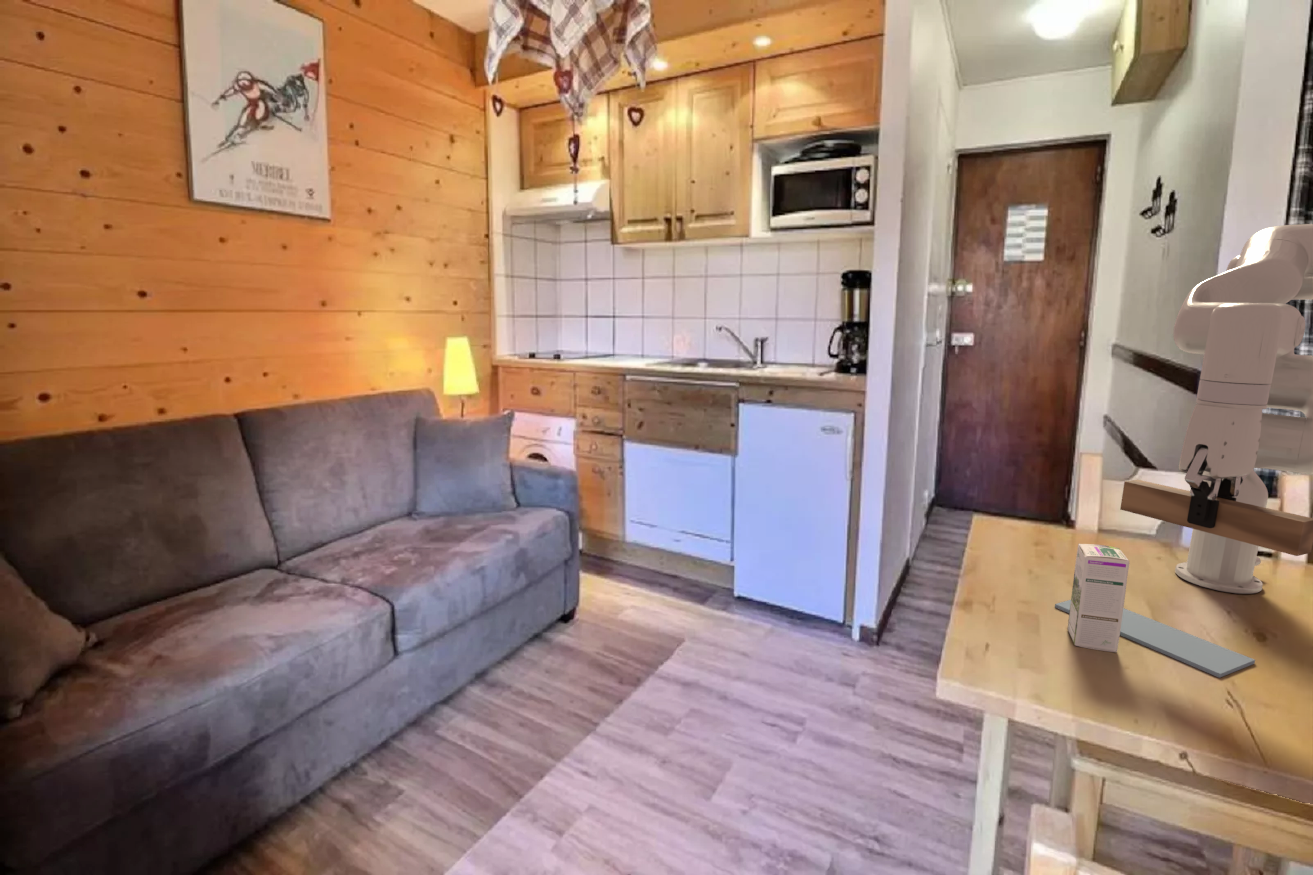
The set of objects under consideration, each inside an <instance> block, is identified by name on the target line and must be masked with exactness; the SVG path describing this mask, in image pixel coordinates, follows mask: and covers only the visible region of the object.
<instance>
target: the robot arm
mask: <svg viewBox="0 0 1313 875" xmlns="http://www.w3.org/2000/svg"><path fill="white" fill-rule="evenodd" d="M1241 249H1242V250H1241V252H1240V254H1239V255H1237V256H1235V257H1233V258H1232V259H1231V260H1230V261H1229V263H1228V265H1227V267H1226V271H1224V272H1222V273H1220V274H1217V275H1214V276H1212V277H1210V278H1207V279H1205V280H1204V281H1201V282H1200V283H1198V284H1196V285H1195V286H1194V287H1193V288H1192V289H1191V290H1190V291H1189V292H1188V293H1187V295H1186V297H1185V298H1184V301H1183V303H1182V305H1181V306H1180V309H1179V311H1178V314H1177V315H1176V318H1175V322H1174V327H1173V334H1172V335H1173V341H1174V343H1175V345H1176V347H1177V348H1178V349H1179V350H1181V351H1182V352H1184V353H1189V354H1194V355H1195V354H1197V355H1198V354H1199V355H1203V359H1202V364H1201V370H1200V376H1199V382H1198V389H1197V395H1196V399H1195V405H1194V408H1193V410H1192V413H1191V416H1190V419H1189V421H1188V425H1187V428H1186V431H1185V436H1184V441H1183V444H1182V449H1181V452H1180V457H1179V463H1178V464H1179V465H1178V469H1179V470H1180V472H1181V473H1183V474H1185V476H1184V481H1185V482H1186V483H1187V484H1188V485H1189V487H1190V490H1189V491H1190V495H1191V501H1190V506H1189V512H1188V518H1187V521H1188V523H1191V524H1195V525H1199V526H1202V527H1206V528H1214V527H1215V522H1216V517H1217V511H1218V506H1219V501H1218V500H1216V498H1217V497H1218V498H1223V499H1227V500H1233V501H1237V502H1242V503H1246V504H1251V505H1255V506H1260V507H1264V508H1267V505H1268V498H1269V492H1268V488H1267V487H1266V484H1265V483H1264V482H1263V480H1262V479H1261V477H1259V475H1258V474H1257V473H1256V471H1255V470H1254V469H1262V470H1263V469H1266V470H1273V471H1274V470H1275V471H1282V472H1288V473H1297V474H1305V475H1306V474H1307V475H1313V355H1310V354H1309V355H1308V354H1307V355H1306V354H1295V348H1297V347H1298V346H1299V345H1300V344H1301V343H1302V341H1303V338H1304V336H1305V331H1306V330H1305V329H1306V320H1305V317H1304V316H1303V315H1302V314H1301V312H1300V310H1299V309H1298V308H1296V307H1295V306H1293V305H1291V304H1288V302H1290V301H1292V300H1293V301H1295V300H1298V301H1299V300H1302V301H1303V300H1304V301H1305V300H1311V301H1312V300H1313V223H1304V224H1303V223H1302V224H1284V225H1275V226H1270V227H1266V228H1263V229H1261V230H1258V232H1256V233H1254V234H1252V235H1251V236H1250V237H1249V238H1248V239H1247V241H1246V242H1245V243H1244V245H1243V247H1242V248H1241ZM1268 408H1269V409H1277V410H1278V409H1279V410H1280V409H1281V410H1289V411H1290V410H1291V411H1299V412H1301V413H1302V414H1304V416H1305V417H1304V416H1294V415H1293V416H1292V415H1285V414H1283V415H1282V414H1275V413H1268V412H1267V413H1265V412H1264V413H1263V410H1267V409H1268ZM1258 551H1259V546H1256V545H1253V544H1249V543H1245V542H1241V541H1238V540H1234V539H1230V538H1226V537H1222V536H1219V535H1215V534H1211V533H1207V532H1203V531H1200V530H1196V529H1192V532H1191V536H1190V542H1189V549H1188V554H1187V560H1186V561H1184V562H1180V563H1177V564H1176V565H1175V570H1174V572H1175V574H1176V575H1177V576H1178V577H1180V578H1181V579H1183V580H1184V581H1186V582H1189V583H1190V584H1194V585H1196V586H1200V587H1203V588H1206V589H1210V590H1213V591H1219V592H1224V593H1230V594H1231V593H1232V594H1241V595H1242V594H1245V595H1249V594H1257V593H1259V592H1261V591H1262V590H1263V587H1264V586H1263V585H1264V584H1263V582H1262V581H1261V580H1260V578H1258V577H1256V576H1254V572H1255V567H1257V566H1259V565H1260V564H1261V561H1262V560H1261V559H1260V557H1259V556H1257V555H1258Z"/></svg>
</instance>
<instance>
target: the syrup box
mask: <svg viewBox="0 0 1313 875" xmlns="http://www.w3.org/2000/svg"><path fill="white" fill-rule="evenodd" d="M1075 557H1076V558H1075V563H1074V564H1075V565H1074V571H1073V572H1074V574H1073V581H1072V589H1071V597H1070V600H1071V604H1070V612H1069V613H1068V620H1067V622H1068V623H1067V632H1068V634H1069V636H1070V638H1071V640H1072V643H1073V646H1076V647H1080V648H1083V649H1091V650H1095V651H1096V650H1097V651H1102V652H1103V651H1104V652H1111V653H1118V649H1119V642H1120V636H1121V635H1120V630H1121V622H1122V615H1123V608H1125V607H1124V606H1125V600H1126V599H1125V598H1126V592H1127V591H1126V590H1127V583H1128V576H1129V568H1130V560H1129V559H1128V558H1127V556H1126V555H1125V554H1124V553H1123V551H1122V550H1121V548H1120V547H1115V546H1110V545H1104V544H1103V545H1102V544H1093V543H1091V544H1090V543H1078V544H1077V550H1076V556H1075Z"/></svg>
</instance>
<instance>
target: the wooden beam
mask: <svg viewBox="0 0 1313 875" xmlns="http://www.w3.org/2000/svg"><path fill="white" fill-rule="evenodd" d="M1216 500H1218V501H1219V506H1218V511H1217V517H1216V522H1215V527H1214V528H1206V527H1202V526H1199V525H1195V524H1191V523H1188V521H1187V518H1188V512H1189V506H1190V501H1191V495H1190V490H1188V489H1182V488H1177V487H1173V486H1168V485H1165V484H1159V483H1154V482H1150V481H1147V480H1141V479H1134V480H1126V481H1125V480H1124V483H1123V489H1122V495H1121V501H1120V511H1125V512H1128V513H1132V514H1136V515H1139V516H1144V517H1146V518H1147V517H1148V518H1151V519H1154V520H1158V521H1161V522H1166V523H1169V524H1174V525H1177V526H1180V527H1185V528H1188V529H1192V530H1193V529H1196V530H1200V531H1203V532H1207V533H1211V534H1215V535H1219V536H1222V537H1226V538H1230V539H1234V540H1238V541H1241V542H1245V543H1249V544H1253V545H1256V546H1258V547H1261V548H1265V549H1268V550H1271V551H1276V552H1280V553H1283V554H1288V555H1292V556H1294V557H1299V556H1303V555H1304V556H1305V555H1307V554H1311V553H1312V548H1313V517H1309V516H1305V515H1299V514H1295V513H1291V512H1286V511H1282V510H1277V509H1273V508H1269V507H1266V508H1264V507H1260V506H1255V505H1251V504H1246V503H1242V502H1237V501H1233V500H1227V499H1223V498H1218V497H1217V498H1216Z"/></svg>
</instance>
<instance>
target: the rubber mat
mask: <svg viewBox="0 0 1313 875" xmlns="http://www.w3.org/2000/svg"><path fill="white" fill-rule="evenodd" d="M1070 604H1071V599H1069V600H1064V601H1061V602H1058V603H1055V604H1054V608H1056V609H1057V610H1060V611H1063V612H1065V613H1068V614H1069V612H1070ZM1120 636H1121V637H1123V638H1125V639H1128V640H1130V641H1133V642H1135V643H1137V644H1139V645H1141V646H1143V647H1146V648H1149V649H1152V650H1153V651H1155V652H1158V653H1161V654H1163V655H1165V656H1166V657H1167V656H1168V657H1171V658H1172V659H1174V660H1177V661H1179V662H1182V663H1183V664H1186V665H1188V666H1191V667H1193V668H1194V669H1198V670H1200V671H1203V672H1205V673H1206V674H1209V675H1212V676H1214V677H1217V678H1218V679H1219V678H1222V677H1226V676H1227V675H1230V674H1232V673H1235V672H1237V671H1240V670H1242V669H1245V668H1247V667H1251V666H1253V665H1255V663H1256V659H1254V658H1252V657H1249V656H1247V655H1244V654H1242V653H1239V652H1236V651H1235V650H1232V649H1229V648H1226V647H1223V646H1222V645H1218V644H1216V643H1213V642H1212V641H1211V642H1210V641H1209V640H1206V639H1203V638H1201V637H1199V636H1196V635H1193V634H1190V633H1188V632H1185V631H1183V630H1180V629H1178V628H1175V627H1172V626H1170V625H1168V624H1165V623H1163V622H1160V621H1157V620H1154V619H1153V618H1150V617H1147V616H1144V615H1143V614H1140V613H1136V612H1135V611H1131V610H1130V609H1128V608H1125V607H1123V615H1122V622H1121V630H1120Z"/></svg>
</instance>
